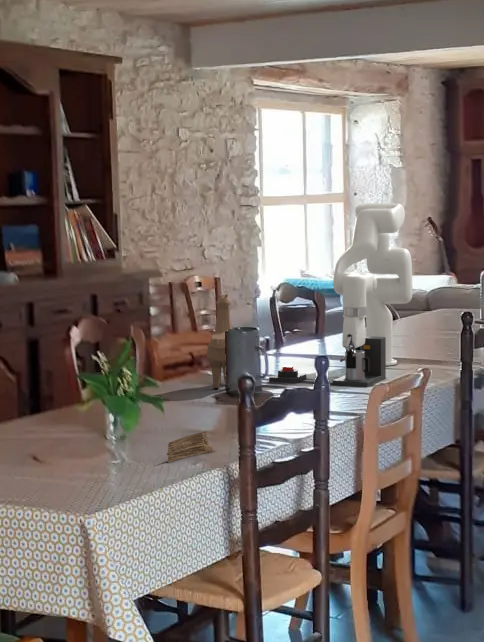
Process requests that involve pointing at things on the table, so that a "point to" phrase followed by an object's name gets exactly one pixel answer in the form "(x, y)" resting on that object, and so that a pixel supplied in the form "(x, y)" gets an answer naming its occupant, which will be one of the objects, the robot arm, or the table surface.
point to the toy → (219, 340)
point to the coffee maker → (370, 363)
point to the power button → (287, 368)
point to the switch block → (287, 377)
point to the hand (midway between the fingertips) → (354, 366)
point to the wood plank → (188, 446)
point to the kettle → (357, 366)
